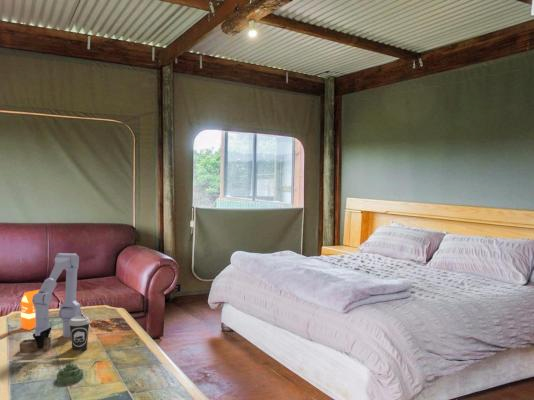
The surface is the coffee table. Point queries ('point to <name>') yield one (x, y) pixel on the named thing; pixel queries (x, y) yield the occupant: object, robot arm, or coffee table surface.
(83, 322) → the coffee cup
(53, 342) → the birch board
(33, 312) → the orange juice
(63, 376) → the decorative artifact
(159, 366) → the coffee table surface
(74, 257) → the robot arm
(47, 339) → the walnut link
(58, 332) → the coffee table surface
